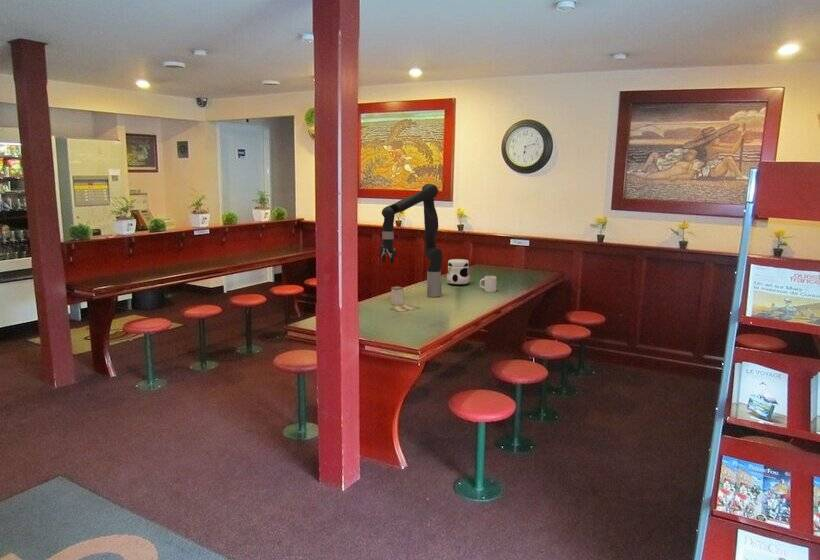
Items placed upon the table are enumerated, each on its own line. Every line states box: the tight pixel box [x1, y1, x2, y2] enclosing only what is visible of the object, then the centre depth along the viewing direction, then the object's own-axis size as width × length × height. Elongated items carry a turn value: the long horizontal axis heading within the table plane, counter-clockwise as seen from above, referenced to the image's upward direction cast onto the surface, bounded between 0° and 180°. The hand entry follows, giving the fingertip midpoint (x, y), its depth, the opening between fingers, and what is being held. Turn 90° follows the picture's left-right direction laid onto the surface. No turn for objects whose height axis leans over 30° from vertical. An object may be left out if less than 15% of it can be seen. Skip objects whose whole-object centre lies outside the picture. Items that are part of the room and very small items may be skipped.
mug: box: [478, 275, 497, 293], centre depth 407 cm, size 12×8×10 cm
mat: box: [387, 304, 420, 313], centre depth 357 cm, size 16×12×1 cm
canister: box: [390, 285, 404, 306], centre depth 368 cm, size 5×5×11 cm
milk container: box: [446, 258, 471, 286], centre depth 430 cm, size 17×17×18 cm
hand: (387, 262), depth 378 cm, fingers open, 8 cm apart
